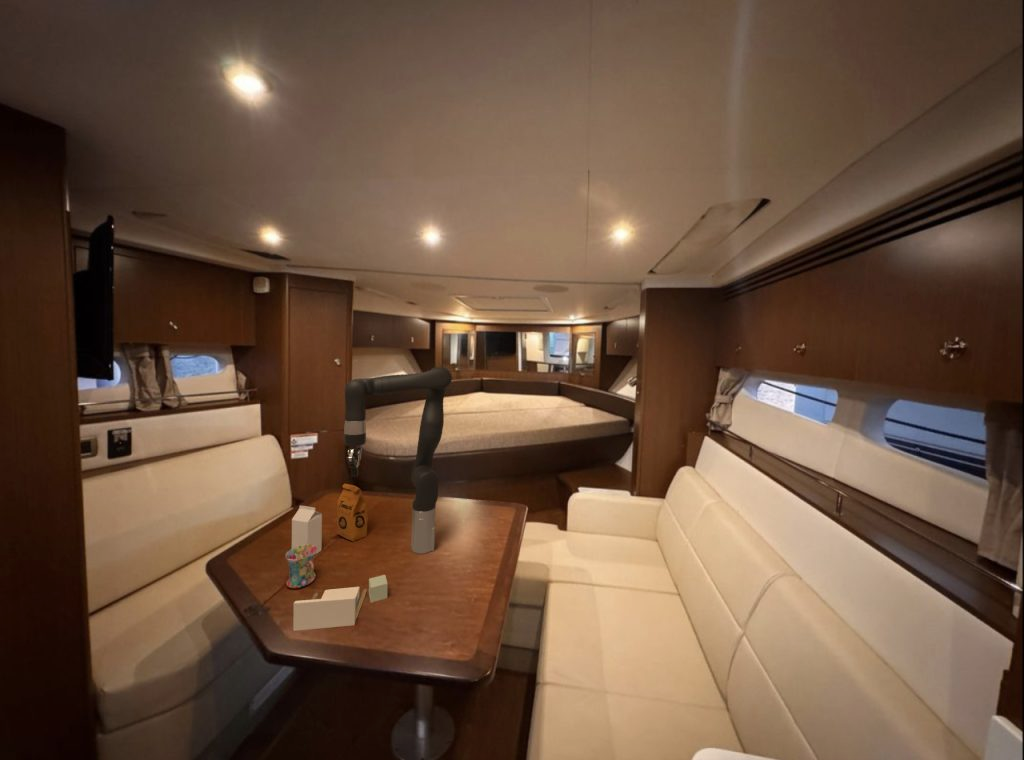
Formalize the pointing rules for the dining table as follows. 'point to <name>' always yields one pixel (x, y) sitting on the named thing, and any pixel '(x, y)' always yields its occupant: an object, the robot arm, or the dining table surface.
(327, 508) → the dining table surface
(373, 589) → the green box
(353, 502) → the coffee package
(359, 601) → the frame
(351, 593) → the carton
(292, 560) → the mug
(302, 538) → the milk carton
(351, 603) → the backdrop
